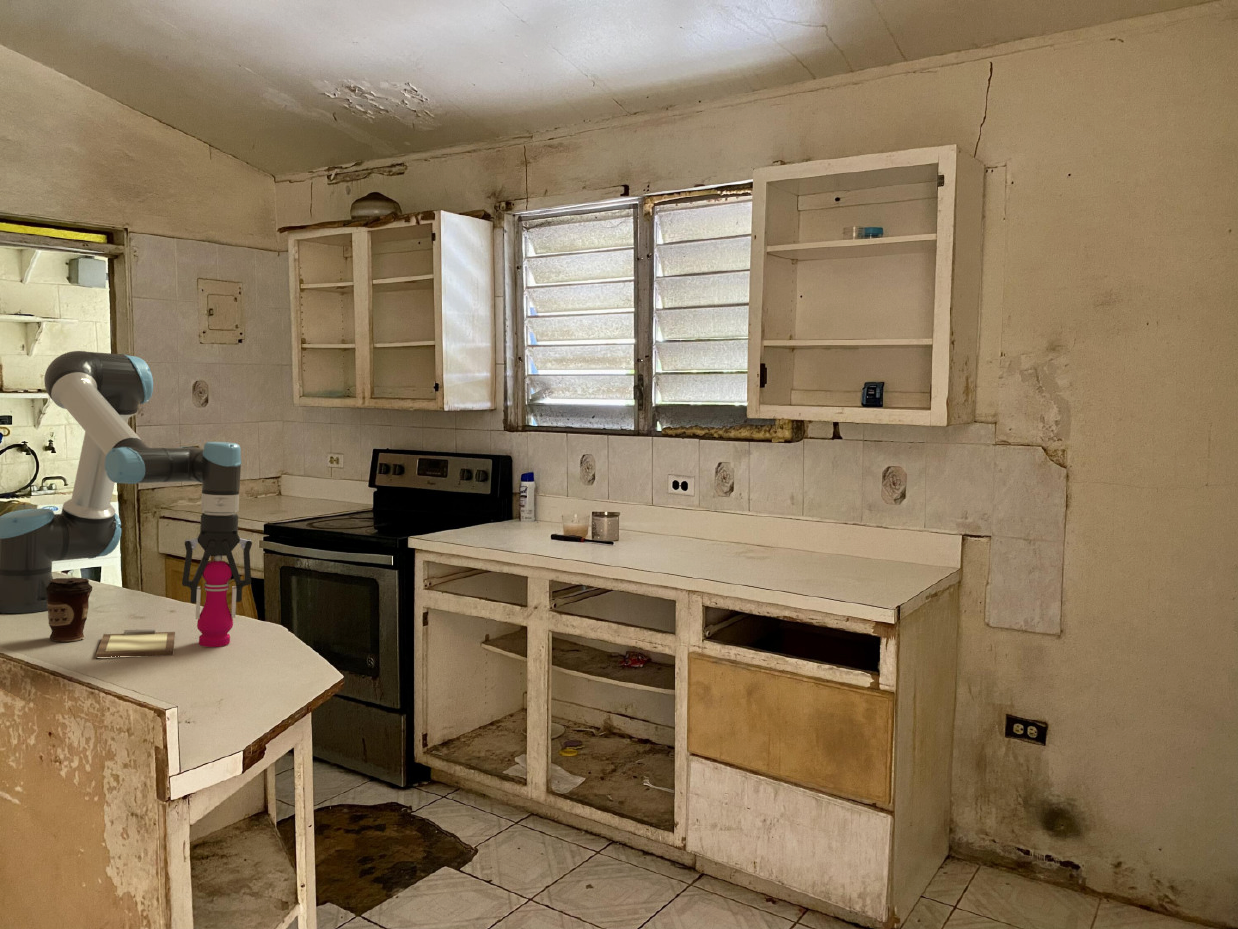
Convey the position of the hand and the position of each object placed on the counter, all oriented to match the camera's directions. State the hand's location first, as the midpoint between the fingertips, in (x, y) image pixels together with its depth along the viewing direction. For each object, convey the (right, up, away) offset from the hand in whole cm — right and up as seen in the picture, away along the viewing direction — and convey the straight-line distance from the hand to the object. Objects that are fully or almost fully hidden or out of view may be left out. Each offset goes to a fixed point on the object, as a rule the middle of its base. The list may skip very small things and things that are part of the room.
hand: (215, 616), depth 200 cm
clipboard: (-14, -5, -6) cm, 16 cm away
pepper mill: (0, -6, 0) cm, 6 cm away
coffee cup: (-30, -4, -4) cm, 31 cm away
